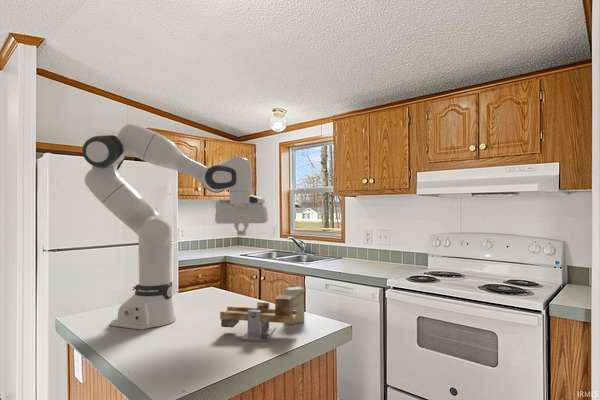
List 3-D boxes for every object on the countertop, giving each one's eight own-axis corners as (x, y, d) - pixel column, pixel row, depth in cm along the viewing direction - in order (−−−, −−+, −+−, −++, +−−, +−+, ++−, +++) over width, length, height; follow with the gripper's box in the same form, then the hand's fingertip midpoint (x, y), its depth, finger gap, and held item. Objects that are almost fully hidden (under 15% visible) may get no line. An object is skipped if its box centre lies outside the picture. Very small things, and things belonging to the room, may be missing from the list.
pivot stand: (241, 340, 115) (240, 311, 116) (253, 327, 128) (253, 300, 128) (265, 342, 114) (265, 312, 114) (275, 328, 127) (275, 301, 127)
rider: (275, 317, 118) (275, 298, 118) (278, 313, 123) (278, 295, 123) (289, 318, 117) (290, 299, 117) (292, 313, 122) (292, 295, 122)
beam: (219, 328, 119) (219, 309, 119) (228, 320, 127) (228, 302, 128) (292, 332, 115) (292, 313, 115) (297, 324, 123) (297, 306, 123)
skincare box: (290, 324, 131) (289, 290, 131) (284, 321, 135) (283, 288, 135) (305, 321, 134) (304, 288, 134) (298, 318, 138) (298, 286, 138)
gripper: (212, 199, 141) (212, 236, 140) (264, 198, 137) (264, 236, 137) (218, 199, 147) (219, 234, 146) (268, 199, 143) (269, 234, 143)
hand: (241, 235), depth 142 cm, fingers closed
